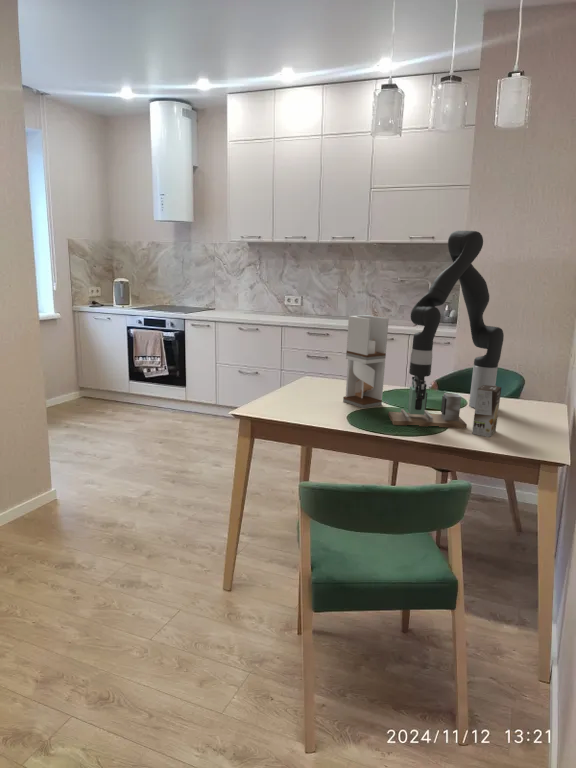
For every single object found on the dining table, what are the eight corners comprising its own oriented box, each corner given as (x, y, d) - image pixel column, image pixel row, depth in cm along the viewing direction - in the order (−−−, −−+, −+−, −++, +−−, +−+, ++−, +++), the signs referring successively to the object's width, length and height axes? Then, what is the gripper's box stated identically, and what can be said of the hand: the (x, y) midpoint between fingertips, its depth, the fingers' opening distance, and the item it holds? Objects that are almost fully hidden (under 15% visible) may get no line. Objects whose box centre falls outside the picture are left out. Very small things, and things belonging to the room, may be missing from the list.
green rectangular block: (422, 411, 206) (425, 387, 204) (425, 414, 201) (428, 390, 199) (407, 410, 206) (410, 386, 204) (410, 414, 201) (412, 389, 199)
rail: (457, 418, 210) (460, 391, 208) (466, 428, 199) (469, 399, 196) (388, 415, 211) (390, 388, 208) (393, 424, 199) (395, 396, 197)
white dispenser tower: (343, 401, 229) (348, 316, 221) (361, 398, 235) (368, 315, 227) (362, 408, 220) (369, 319, 212) (381, 404, 226) (388, 318, 218)
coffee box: (490, 437, 189) (496, 391, 186) (471, 433, 192) (477, 388, 189) (496, 431, 197) (501, 386, 193) (477, 427, 200) (482, 384, 196)
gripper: (436, 366, 193) (431, 413, 196) (427, 358, 207) (422, 403, 210) (414, 365, 193) (409, 412, 197) (406, 357, 207) (402, 402, 211)
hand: (416, 407), depth 203 cm, fingers closed on green rectangular block, 5 cm apart
